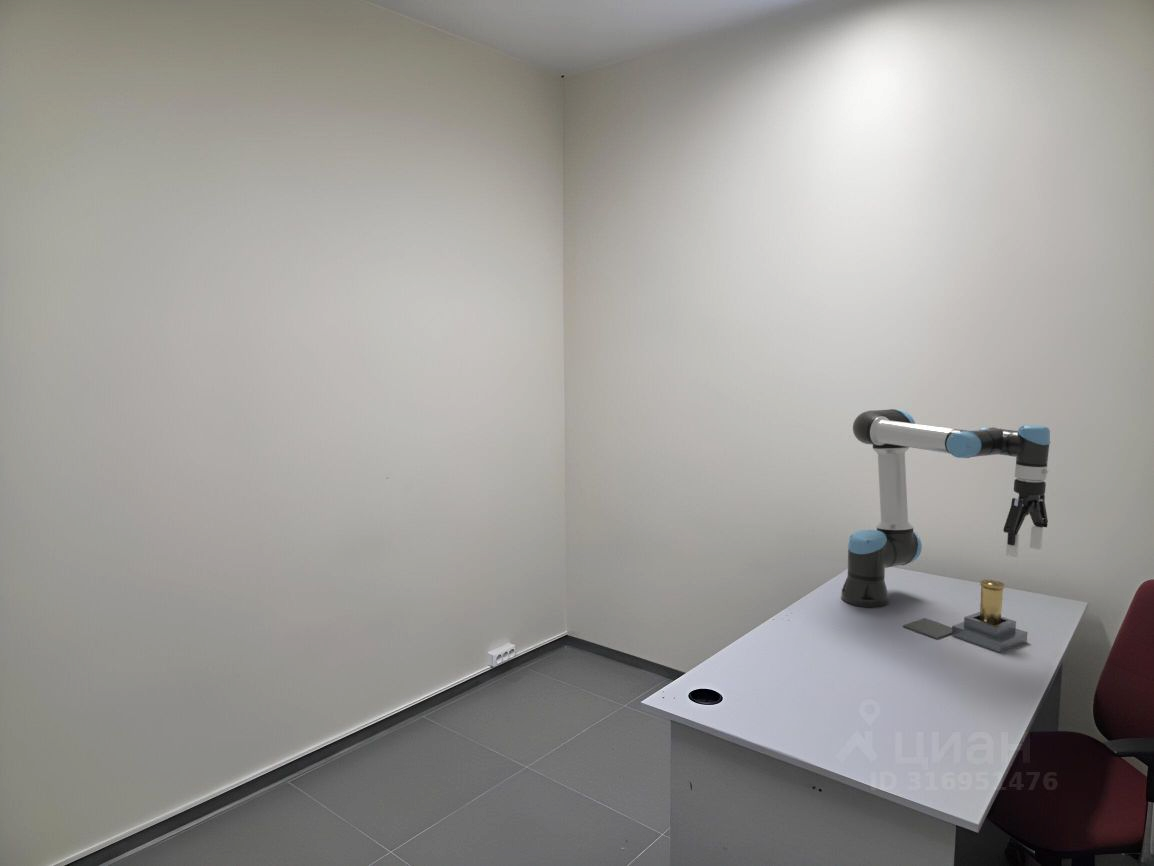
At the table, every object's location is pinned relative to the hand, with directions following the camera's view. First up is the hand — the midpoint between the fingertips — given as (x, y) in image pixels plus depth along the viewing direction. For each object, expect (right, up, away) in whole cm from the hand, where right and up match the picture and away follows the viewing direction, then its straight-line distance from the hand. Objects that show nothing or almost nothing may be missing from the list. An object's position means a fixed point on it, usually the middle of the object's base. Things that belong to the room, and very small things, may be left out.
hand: (1023, 552), depth 199 cm
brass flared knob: (-8, -23, +4) cm, 25 cm away
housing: (-8, -26, +4) cm, 28 cm away
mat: (-21, -26, +11) cm, 35 cm away
